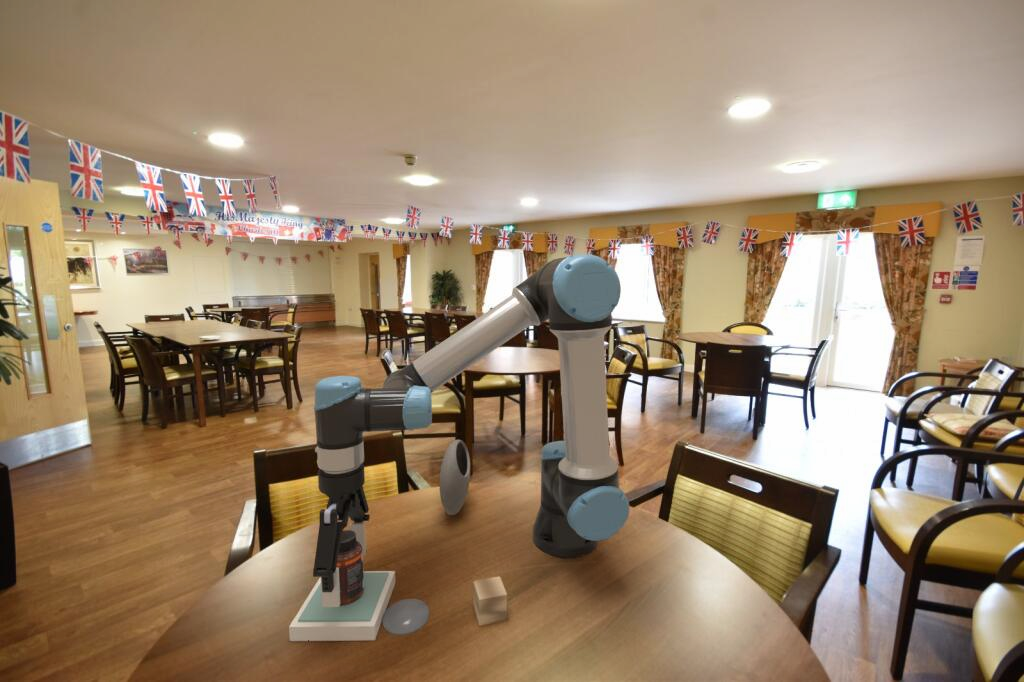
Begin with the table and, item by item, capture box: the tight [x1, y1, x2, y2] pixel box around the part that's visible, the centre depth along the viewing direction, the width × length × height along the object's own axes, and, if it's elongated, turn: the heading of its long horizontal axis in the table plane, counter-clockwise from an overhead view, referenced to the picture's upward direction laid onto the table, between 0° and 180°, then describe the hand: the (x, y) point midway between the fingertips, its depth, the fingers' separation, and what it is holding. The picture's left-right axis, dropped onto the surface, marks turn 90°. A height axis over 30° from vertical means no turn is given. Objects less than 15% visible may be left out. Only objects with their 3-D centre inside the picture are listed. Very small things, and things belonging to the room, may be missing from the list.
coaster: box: [382, 598, 430, 636], centre depth 77 cm, size 8×8×1 cm
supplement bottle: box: [336, 529, 364, 604], centre depth 78 cm, size 6×6×11 cm
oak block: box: [473, 576, 508, 626], centre depth 78 cm, size 5×5×5 cm
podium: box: [288, 570, 396, 642], centre depth 78 cm, size 14×14×3 cm
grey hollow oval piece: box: [439, 439, 471, 516], centre depth 113 cm, size 18×7×19 cm, turn 176°
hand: (346, 578), depth 78 cm, fingers open, 13 cm apart
